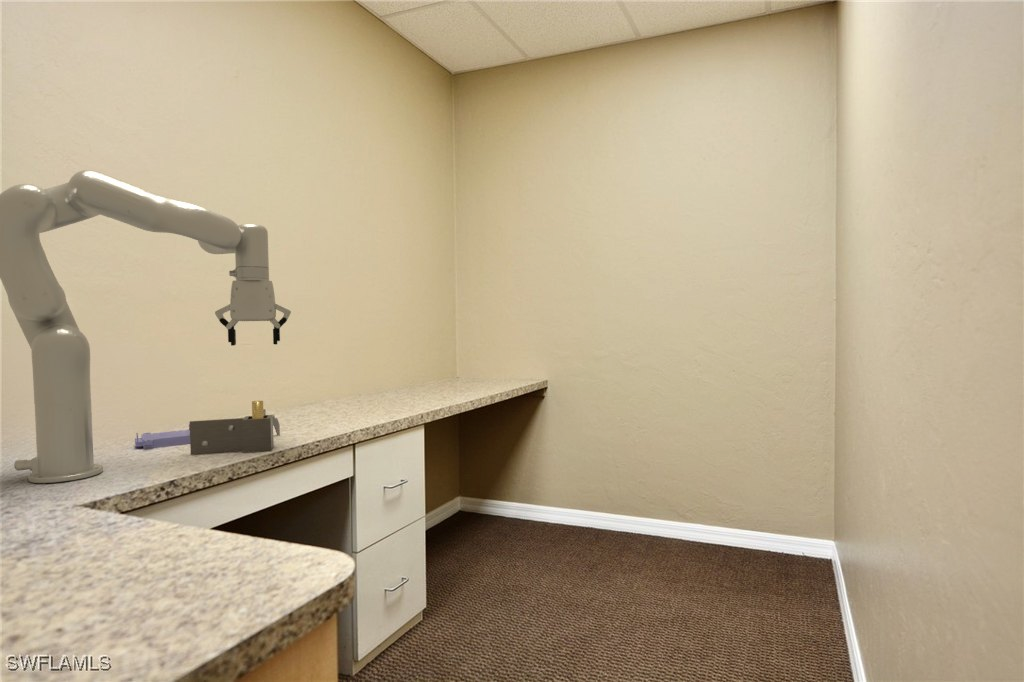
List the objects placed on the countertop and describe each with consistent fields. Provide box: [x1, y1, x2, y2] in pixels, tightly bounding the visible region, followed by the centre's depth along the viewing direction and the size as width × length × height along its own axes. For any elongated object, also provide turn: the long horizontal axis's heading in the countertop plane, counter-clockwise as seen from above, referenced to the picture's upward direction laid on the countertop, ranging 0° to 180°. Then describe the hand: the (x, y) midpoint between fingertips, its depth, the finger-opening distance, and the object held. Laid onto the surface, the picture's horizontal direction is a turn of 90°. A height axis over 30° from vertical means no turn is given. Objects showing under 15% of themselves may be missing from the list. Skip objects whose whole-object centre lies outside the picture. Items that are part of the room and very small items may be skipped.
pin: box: [251, 400, 264, 419], centre depth 151 cm, size 3×3×12 cm
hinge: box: [189, 408, 275, 456], centre depth 155 cm, size 18×18×8 cm
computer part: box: [134, 423, 190, 450], centre depth 166 cm, size 30×4×15 cm
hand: (254, 344), depth 150 cm, fingers open, 9 cm apart
